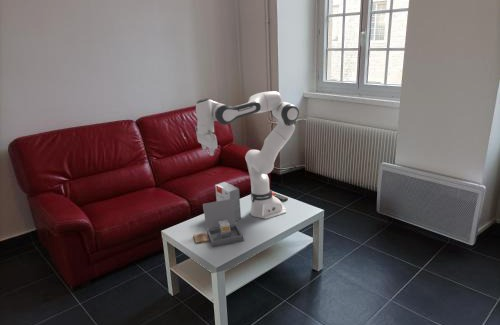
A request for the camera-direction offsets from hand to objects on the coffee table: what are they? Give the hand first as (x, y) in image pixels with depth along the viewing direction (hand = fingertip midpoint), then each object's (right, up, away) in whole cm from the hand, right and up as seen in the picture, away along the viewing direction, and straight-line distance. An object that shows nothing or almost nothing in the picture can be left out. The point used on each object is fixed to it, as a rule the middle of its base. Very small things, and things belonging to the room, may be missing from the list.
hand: (208, 153), depth 201 cm
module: (+10, -45, -4) cm, 46 cm away
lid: (+6, -34, +3) cm, 35 cm away
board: (-3, -47, -3) cm, 47 cm away
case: (+10, -46, -3) cm, 47 cm away
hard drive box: (+10, -38, +22) cm, 45 cm away
